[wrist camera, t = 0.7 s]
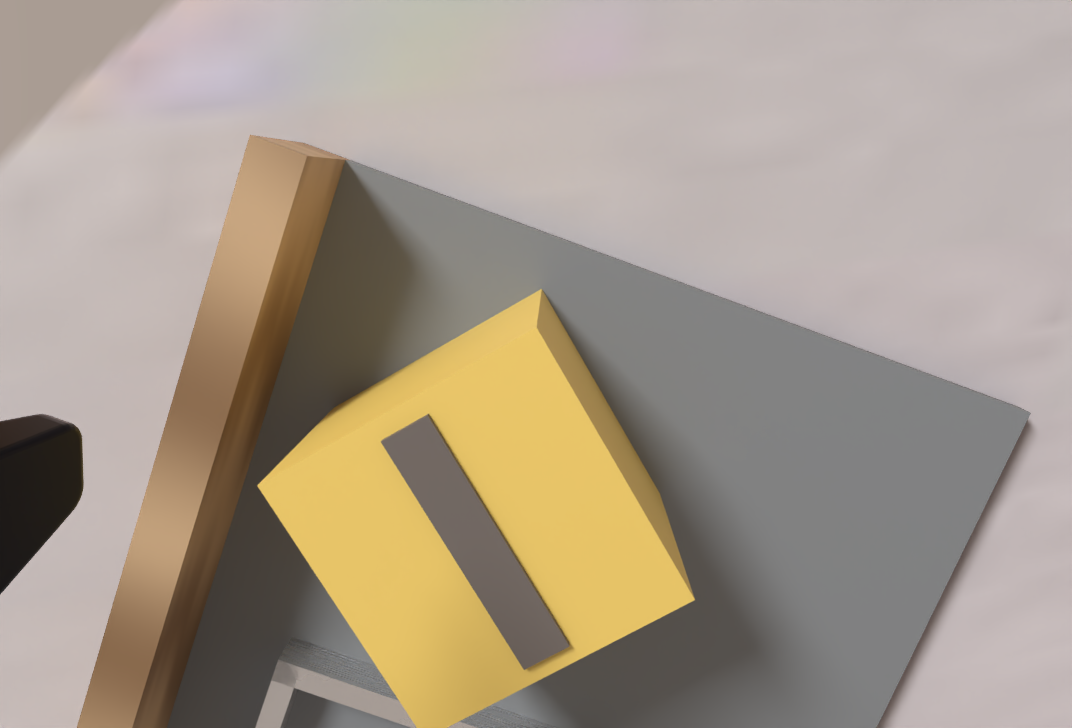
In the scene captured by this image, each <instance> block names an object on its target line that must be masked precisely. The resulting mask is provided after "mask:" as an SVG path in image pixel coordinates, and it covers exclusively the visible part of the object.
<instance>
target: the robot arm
mask: <svg viewBox="0 0 1072 728" xmlns="http://www.w3.org/2000/svg"><path fill="white" fill-rule="evenodd" d="M82 491H83V453H82V435H81V433H80V431H79V429H78V427H76V426H75V425H74V424H72V423H69V422H66V421H63V420H61V419H58V418H55V417H52V416H49V415H45V414H38V415H32V416H26V417H21V418H16V419H10V420H5V421H0V594H1V593H2V592H3V591H4V590H5V588H6V587H7V586H8V585H9V584H10V583H11V581H12V580H13V579H14V578H15V577H16V576H17V575H18V573H19V572H20V571H21V570H22V569H23V568H24V567H25V565H26V564H27V563H28V562H29V561H30V560H31V558H32V557H33V556H34V555H35V554H36V553H37V552H38V550H39V549H40V548H41V547H42V546H43V545H44V543H45V542H46V541H47V540H48V539H49V538H50V537H51V535H52V534H53V533H54V532H55V531H56V530H57V529H58V527H59V526H60V525H61V524H62V523H63V522H64V520H65V519H66V518H67V517H68V516H69V515H70V514H71V512H72V511H73V510H74V509H75V507H76V506H77V504H78V502H79V500H80V498H81V495H82Z"/></svg>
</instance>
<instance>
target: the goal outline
mask: <svg viewBox="0 0 1072 728" xmlns="http://www.w3.org/2000/svg"><path fill="white" fill-rule="evenodd" d="M298 689H299V690H302V691H305V692H308V693H311V694H314V695H317V696H319V697H322V698H325V699H328V700H331V701H334V702H337V703H340V704H343V705H346V706H349V707H352V708H355V709H358V710H361V711H364V712H367V713H370V714H372V715H375V716H378V717H381V718H384V719H387V720H390V721H393V722H396V723H399V724H402V725H405V726H408V727H411V728H417V727H416V726H415V724H414V723H413V721H412V720H411V718H410V717H409V715H408V714H407V712H406V711H405V709H404V707H403V706H402V704H401V703H400V701H399V700H398V698H397V697H396V695H395V694H394V692H393V691H392V689H391V688H390V686H389V685H388V683H387V682H386V680H385V679H384V677H383V676H382V674H381V673H380V671H379V670H378V668H377V667H376V665H374V664H371V663H368V662H365V661H362V660H359V659H356V658H353V657H350V656H347V655H344V654H342V653H339V652H336V651H333V650H330V649H327V648H324V647H321V646H318V645H315V644H312V643H309V642H306V641H304V640H301V639H298V638H295V637H291V639H290V640H289V642H288V644H287V646H286V647H285V649H284V651H283V652H282V654H281V656H280V658H279V659H278V662H277V665H276V668H275V671H274V674H273V677H272V680H271V683H270V686H269V689H268V692H267V695H266V698H265V701H264V704H263V706H262V709H261V712H260V715H259V718H258V721H257V724H256V727H255V728H285V725H286V722H287V719H288V716H289V713H290V710H291V708H292V705H293V702H294V699H295V696H296V693H297V690H298ZM447 728H558V727H555V726H552V725H549V724H546V723H543V722H540V721H537V720H534V719H531V718H528V717H525V716H523V715H520V714H517V713H514V712H511V711H508V710H505V709H502V708H499V707H496V706H493V705H490V706H488V707H486V708H484V709H482V710H480V711H478V712H476V713H475V714H473V715H471V716H469V717H467V718H465V719H463V720H461V721H459V722H457V723H455V724H453V725H451V726H449V727H447Z"/></svg>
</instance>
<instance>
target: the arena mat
mask: <svg viewBox="0 0 1072 728" xmlns="http://www.w3.org/2000/svg"><path fill="white" fill-rule="evenodd" d="M540 289H542V290H543V292H544V294H545V295H546V297H547V299H548V300H549V302H550V304H551V306H552V307H553V309H554V311H555V313H556V314H557V316H558V318H559V320H560V321H561V323H562V325H563V326H564V328H565V330H566V332H567V333H568V335H569V337H570V339H571V340H572V342H573V344H574V346H575V347H576V349H577V351H578V353H579V354H580V356H581V358H582V359H583V361H584V363H585V365H586V366H587V368H588V370H589V372H590V373H591V375H592V377H593V379H594V380H595V382H596V384H597V385H598V387H599V389H600V391H601V392H602V394H603V396H604V398H605V399H606V401H607V403H608V405H609V406H610V408H611V410H612V411H613V413H614V415H615V417H616V418H617V420H618V422H619V424H620V425H621V427H622V429H623V431H624V432H625V434H626V436H627V438H628V439H629V441H630V443H631V444H632V446H633V448H634V450H635V451H636V453H637V455H638V457H639V458H640V460H641V462H642V464H643V465H644V467H645V469H646V470H647V472H648V474H649V476H650V477H651V479H652V481H653V483H654V484H655V486H656V488H657V490H658V491H659V493H660V496H661V499H662V502H663V505H664V508H665V511H666V514H667V517H668V520H669V523H670V526H671V529H672V532H673V535H674V538H675V541H676V544H677V547H678V550H679V553H680V556H681V559H682V562H683V565H684V568H685V571H686V574H687V577H688V580H689V583H690V586H691V589H692V592H693V595H694V598H695V600H694V601H692V602H690V603H688V604H686V605H684V606H682V607H680V608H679V609H677V610H675V611H673V612H671V613H669V614H667V615H665V616H663V617H661V618H659V619H657V620H655V621H653V622H651V623H649V624H647V625H646V626H644V627H642V628H640V629H638V630H636V631H634V632H632V633H630V634H628V635H626V636H624V637H622V638H620V639H618V640H616V641H614V642H612V643H611V644H609V645H607V646H605V647H603V648H601V649H599V650H597V651H595V652H593V653H591V654H589V655H587V656H585V657H583V658H581V659H579V660H578V661H576V662H574V663H572V664H570V665H568V666H566V667H564V668H562V669H560V670H558V671H556V672H554V673H552V674H550V675H548V676H546V677H544V678H543V679H541V680H539V681H537V682H535V683H533V684H531V685H529V686H527V687H525V688H523V689H521V690H519V691H517V692H515V693H513V694H511V695H510V696H508V697H506V698H504V699H502V700H500V701H498V702H496V703H494V704H492V705H493V706H496V707H499V708H502V709H505V710H508V711H511V712H514V713H517V714H520V715H523V716H525V717H528V718H531V719H534V720H537V721H540V722H543V723H546V724H549V725H552V726H555V727H558V728H877V726H878V724H879V722H880V720H881V718H882V716H883V713H884V711H885V709H886V707H887V705H888V703H889V701H890V699H891V697H892V695H893V693H894V691H895V689H896V687H897V685H898V683H899V681H900V679H901V677H902V675H903V673H904V671H905V669H906V667H907V665H908V662H909V660H910V658H911V656H912V654H913V652H914V650H915V648H916V646H917V644H918V642H919V640H920V638H921V636H922V634H923V632H924V630H925V628H926V626H927V624H928V622H929V620H930V618H931V616H932V614H933V611H934V609H935V607H936V605H937V603H938V601H939V599H940V597H941V595H942V593H943V591H944V589H945V587H946V585H947V583H948V581H949V579H950V577H951V575H952V573H953V571H954V569H955V567H956V565H957V563H958V560H959V558H960V556H961V554H962V552H963V550H964V548H965V546H966V544H967V542H968V540H969V538H970V536H971V534H972V532H973V530H974V528H975V526H976V524H977V522H978V520H979V518H980V516H981V514H982V512H983V509H984V507H985V505H986V503H987V501H988V499H989V497H990V495H991V493H992V491H993V489H994V487H995V485H996V483H997V481H998V479H999V477H1000V475H1001V473H1002V471H1003V469H1004V467H1005V465H1006V463H1007V460H1008V458H1009V456H1010V454H1011V452H1012V450H1013V448H1014V446H1015V444H1016V442H1017V440H1018V438H1019V436H1020V434H1021V432H1022V430H1023V428H1024V426H1025V424H1026V422H1027V420H1028V418H1029V416H1030V414H1031V413H1030V412H1028V411H1026V410H1024V409H1022V408H1020V407H1017V406H1015V405H1012V404H1009V403H1006V402H1004V401H1001V400H998V399H996V398H993V397H990V396H987V395H985V394H982V393H979V392H977V391H974V390H971V389H968V388H966V387H963V386H960V385H958V384H955V383H952V382H950V381H947V380H944V379H941V378H939V377H936V376H933V375H931V374H928V373H925V372H922V371H920V370H917V369H914V368H912V367H909V366H906V365H903V364H901V363H898V362H895V361H893V360H890V359H887V358H885V357H882V356H879V355H876V354H874V353H871V352H868V351H866V350H863V349H860V348H857V347H855V346H852V345H849V344H847V343H844V342H841V341H838V340H836V339H833V338H830V337H828V336H825V335H822V334H820V333H817V332H814V331H811V330H809V329H806V328H803V327H801V326H798V325H795V324H792V323H790V322H787V321H784V320H782V319H779V318H776V317H774V316H771V315H768V314H765V313H763V312H760V311H757V310H755V309H752V308H749V307H746V306H744V305H741V304H738V303H736V302H733V301H730V300H727V299H725V298H722V297H719V296H717V295H714V294H711V293H709V292H706V291H703V290H700V289H698V288H695V287H692V286H690V285H687V284H684V283H681V282H679V281H676V280H673V279H671V278H668V277H665V276H662V275H660V274H657V273H654V272H652V271H649V270H646V269H644V268H641V267H638V266H635V265H633V264H630V263H627V262H625V261H622V260H619V259H616V258H614V257H611V256H608V255H606V254H603V253H600V252H597V251H595V250H592V249H589V248H587V247H584V246H581V245H579V244H576V243H573V242H570V241H568V240H565V239H562V238H560V237H557V236H554V235H551V234H549V233H546V232H543V231H541V230H538V229H535V228H533V227H530V226H527V225H524V224H522V223H519V222H516V221H514V220H511V219H508V218H505V217H503V216H500V215H497V214H495V213H492V212H489V211H486V210H484V209H481V208H478V207H476V206H473V205H470V204H468V203H465V202H462V201H459V200H457V199H454V198H451V197H449V196H446V195H443V194H440V193H438V192H435V191H432V190H430V189H427V188H424V187H421V186H419V185H416V184H413V183H411V182H408V181H405V180H403V179H400V178H397V177H394V176H392V175H389V174H386V173H384V172H381V171H378V170H375V169H373V168H370V167H367V166H365V165H362V164H359V163H356V162H354V161H351V160H345V163H344V166H343V169H342V172H341V175H340V178H339V182H338V185H337V188H336V191H335V194H334V197H333V201H332V204H331V207H330V210H329V213H328V217H327V220H326V223H325V226H324V229H323V232H322V236H321V239H320V242H319V245H318V248H317V252H316V255H315V258H314V261H313V264H312V267H311V271H310V274H309V277H308V280H307V283H306V287H305V290H304V293H303V296H302V299H301V302H300V306H299V309H298V312H297V315H296V318H295V322H294V325H293V328H292V331H291V334H290V337H289V341H288V344H287V347H286V350H285V353H284V357H283V360H282V363H281V366H280V369H279V372H278V376H277V379H276V382H275V385H274V388H273V392H272V395H271V398H270V401H269V404H268V407H267V411H266V414H265V417H264V420H263V423H262V427H261V430H260V433H259V436H258V439H257V442H256V446H255V449H254V452H253V455H252V458H251V461H250V465H249V468H248V471H247V474H246V477H245V481H244V484H243V487H242V490H241V493H240V496H239V500H238V503H237V506H236V509H235V512H234V516H233V519H232V522H231V525H230V528H229V531H228V535H227V538H226V541H225V544H224V547H223V551H222V554H221V557H220V560H219V563H218V566H217V570H216V573H215V576H214V579H213V582H212V586H211V589H210V592H209V595H208V598H207V601H206V605H205V608H204V611H203V614H202V617H201V621H200V624H199V627H198V630H197V633H196V636H195V640H194V643H193V646H192V649H191V652H190V656H189V659H188V662H187V665H186V668H185V671H184V675H183V678H182V681H181V684H180V687H179V691H178V694H177V697H176V700H175V703H174V706H173V710H172V713H171V716H170V719H169V722H168V725H167V728H255V727H256V724H257V721H258V718H259V715H260V712H261V709H262V706H263V704H264V701H265V698H266V695H267V692H268V689H269V686H270V683H271V680H272V677H273V674H274V671H275V668H276V665H277V662H278V659H279V658H280V656H281V654H282V652H283V651H284V649H285V647H286V646H287V644H288V642H289V640H290V639H291V637H295V638H298V639H301V640H304V641H306V642H309V643H312V644H315V645H318V646H321V647H324V648H327V649H330V650H333V651H336V652H339V653H342V654H344V655H347V656H350V657H353V658H356V659H359V660H362V661H365V662H368V663H371V664H374V662H373V660H372V659H371V657H370V656H369V654H368V653H367V651H366V650H365V648H364V647H363V645H362V644H361V642H360V641H359V639H358V638H357V636H356V635H355V633H354V632H353V630H352V629H351V627H350V626H349V624H348V623H347V621H346V620H345V618H344V617H343V615H342V613H341V612H340V610H339V609H338V607H337V606H336V604H335V603H334V601H333V600H332V598H331V597H330V595H329V594H328V592H327V591H326V589H325V588H324V586H323V585H322V583H321V582H320V580H319V579H318V577H317V576H316V574H315V573H314V571H313V570H312V568H311V566H310V565H309V563H308V562H307V560H306V559H305V557H304V556H303V554H302V553H301V551H300V550H299V548H298V547H297V545H296V544H295V542H294V541H293V539H292V538H291V536H290V535H289V533H288V532H287V530H286V529H285V527H284V526H283V524H282V523H281V521H280V519H279V518H278V516H277V515H276V513H275V512H274V510H273V509H272V507H271V506H270V504H269V503H268V501H267V500H266V498H265V497H264V495H263V494H262V492H261V491H260V489H259V488H258V486H257V485H258V484H259V483H260V482H261V481H262V480H263V479H264V478H265V477H266V476H267V475H268V474H269V473H270V472H271V471H272V470H273V469H274V468H275V467H276V466H277V465H278V464H279V463H280V462H281V461H282V460H283V459H284V458H285V457H286V456H287V455H288V454H289V453H290V452H291V451H292V450H293V449H294V448H295V447H296V446H297V445H298V444H299V443H300V442H301V441H302V440H303V439H304V438H305V437H306V436H307V434H308V433H309V432H310V431H311V430H312V429H313V428H314V427H315V426H316V425H317V424H318V423H319V422H320V421H321V420H322V419H323V418H324V417H325V416H326V415H327V414H328V413H329V412H330V411H331V410H332V409H333V408H334V407H336V406H338V405H339V404H341V403H343V402H345V401H346V400H348V399H350V398H352V397H353V396H355V395H357V394H359V393H360V392H362V391H364V390H366V389H367V388H369V387H371V386H373V385H374V384H376V383H378V382H380V381H381V380H383V379H385V378H387V377H388V376H390V375H392V374H394V373H395V372H397V371H399V370H401V369H402V368H404V367H406V366H408V365H409V364H411V363H413V362H415V361H416V360H418V359H420V358H422V357H423V356H425V355H427V354H429V353H430V352H432V351H434V350H435V349H437V348H439V347H441V346H442V345H444V344H446V343H448V342H449V341H451V340H453V339H455V338H456V337H458V336H460V335H462V334H463V333H465V332H467V331H469V330H470V329H472V328H474V327H476V326H477V325H479V324H481V323H483V322H484V321H486V320H488V319H490V318H491V317H493V316H495V315H497V314H498V313H500V312H502V311H504V310H505V309H507V308H509V307H511V306H512V305H514V304H516V303H518V302H519V301H521V300H523V299H525V298H526V297H528V296H530V295H532V294H533V293H535V292H537V291H539V290H540ZM374 665H375V664H374ZM285 728H411V727H408V726H405V725H402V724H399V723H396V722H393V721H390V720H387V719H384V718H381V717H378V716H375V715H372V714H370V713H367V712H364V711H361V710H358V709H355V708H352V707H349V706H346V705H343V704H340V703H337V702H334V701H331V700H328V699H325V698H322V697H319V696H317V695H314V694H311V693H308V692H305V691H302V690H299V689H298V690H297V693H296V696H295V699H294V702H293V705H292V708H291V710H290V713H289V716H288V719H287V722H286V725H285Z"/></svg>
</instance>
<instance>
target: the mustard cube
mask: <svg viewBox="0 0 1072 728" xmlns="http://www.w3.org/2000/svg"><path fill="white" fill-rule="evenodd" d="M257 486H258V488H259V489H260V491H261V492H262V494H263V495H264V497H265V498H266V500H267V501H268V503H269V504H270V506H271V507H272V509H273V510H274V512H275V513H276V515H277V516H278V518H279V519H280V521H281V523H282V524H283V526H284V527H285V529H286V530H287V532H288V533H289V535H290V536H291V538H292V539H293V541H294V542H295V544H296V545H297V547H298V548H299V550H300V551H301V553H302V554H303V556H304V557H305V559H306V560H307V562H308V563H309V565H310V566H311V568H312V570H313V571H314V573H315V574H316V576H317V577H318V579H319V580H320V582H321V583H322V585H323V586H324V588H325V589H326V591H327V592H328V594H329V595H330V597H331V598H332V600H333V601H334V603H335V604H336V606H337V607H338V609H339V610H340V612H341V613H342V615H343V617H344V618H345V620H346V621H347V623H348V624H349V626H350V627H351V629H352V630H353V632H354V633H355V635H356V636H357V638H358V639H359V641H360V642H361V644H362V645H363V647H364V648H365V650H366V651H367V653H368V654H369V656H370V657H371V659H372V660H373V662H374V664H375V665H376V667H377V668H378V670H379V671H380V673H381V674H382V676H383V677H384V679H385V680H386V682H387V683H388V685H389V686H390V688H391V689H392V691H393V692H394V694H395V695H396V697H397V698H398V700H399V701H400V703H401V704H402V706H403V707H404V709H405V711H406V712H407V714H408V715H409V717H410V718H411V720H412V721H413V723H414V724H415V726H416V727H417V728H447V727H449V726H451V725H453V724H455V723H457V722H459V721H461V720H463V719H465V718H467V717H469V716H471V715H473V714H475V713H476V712H478V711H480V710H482V709H484V708H486V707H488V706H490V705H492V704H494V703H496V702H498V701H500V700H502V699H504V698H506V697H508V696H510V695H511V694H513V693H515V692H517V691H519V690H521V689H523V688H525V687H527V686H529V685H531V684H533V683H535V682H537V681H539V680H541V679H543V678H544V677H546V676H548V675H550V674H552V673H554V672H556V671H558V670H560V669H562V668H564V667H566V666H568V665H570V664H572V663H574V662H576V661H578V660H579V659H581V658H583V657H585V656H587V655H589V654H591V653H593V652H595V651H597V650H599V649H601V648H603V647H605V646H607V645H609V644H611V643H612V642H614V641H616V640H618V639H620V638H622V637H624V636H626V635H628V634H630V633H632V632H634V631H636V630H638V629H640V628H642V627H644V626H646V625H647V624H649V623H651V622H653V621H655V620H657V619H659V618H661V617H663V616H665V615H667V614H669V613H671V612H673V611H675V610H677V609H679V608H680V607H682V606H684V605H686V604H688V603H690V602H692V601H694V600H695V598H694V595H693V592H692V589H691V586H690V583H689V580H688V577H687V574H686V571H685V568H684V565H683V562H682V559H681V556H680V553H679V550H678V547H677V544H676V541H675V538H674V535H673V532H672V529H671V526H670V523H669V520H668V517H667V514H666V511H665V508H664V505H663V502H662V499H661V496H660V493H659V491H658V490H657V488H656V486H655V484H654V483H653V481H652V479H651V477H650V476H649V474H648V472H647V470H646V469H645V467H644V465H643V464H642V462H641V460H640V458H639V457H638V455H637V453H636V451H635V450H634V448H633V446H632V444H631V443H630V441H629V439H628V438H627V436H626V434H625V432H624V431H623V429H622V427H621V425H620V424H619V422H618V420H617V418H616V417H615V415H614V413H613V411H612V410H611V408H610V406H609V405H608V403H607V401H606V399H605V398H604V396H603V394H602V392H601V391H600V389H599V387H598V385H597V384H596V382H595V380H594V379H593V377H592V375H591V373H590V372H589V370H588V368H587V366H586V365H585V363H584V361H583V359H582V358H581V356H580V354H579V353H578V351H577V349H576V347H575V346H574V344H573V342H572V340H571V339H570V337H569V335H568V333H567V332H566V330H565V328H564V326H563V325H562V323H561V321H560V320H559V318H558V316H557V314H556V313H555V311H554V309H553V307H552V306H551V304H550V302H549V300H548V299H547V297H546V295H545V294H544V292H543V290H542V289H540V290H539V291H537V292H535V293H533V294H532V295H530V296H528V297H526V298H525V299H523V300H521V301H519V302H518V303H516V304H514V305H512V306H511V307H509V308H507V309H505V310H504V311H502V312H500V313H498V314H497V315H495V316H493V317H491V318H490V319H488V320H486V321H484V322H483V323H481V324H479V325H477V326H476V327H474V328H472V329H470V330H469V331H467V332H465V333H463V334H462V335H460V336H458V337H456V338H455V339H453V340H451V341H449V342H448V343H446V344H444V345H442V346H441V347H439V348H437V349H435V350H434V351H432V352H430V353H429V354H427V355H425V356H423V357H422V358H420V359H418V360H416V361H415V362H413V363H411V364H409V365H408V366H406V367H404V368H402V369H401V370H399V371H397V372H395V373H394V374H392V375H390V376H388V377H387V378H385V379H383V380H381V381H380V382H378V383H376V384H374V385H373V386H371V387H369V388H367V389H366V390H364V391H362V392H360V393H359V394H357V395H355V396H353V397H352V398H350V399H348V400H346V401H345V402H343V403H341V404H339V405H338V406H336V407H334V408H333V409H332V410H331V411H330V412H329V413H328V414H327V415H326V416H325V417H324V418H323V419H322V420H321V421H320V422H319V423H318V424H317V425H316V426H315V427H314V428H313V429H312V430H311V431H310V432H309V433H308V434H307V436H306V437H305V438H304V439H303V440H302V441H301V442H300V443H299V444H298V445H297V446H296V447H295V448H294V449H293V450H292V451H291V452H290V453H289V454H288V455H287V456H286V457H285V458H284V459H283V460H282V461H281V462H280V463H279V464H278V465H277V466H276V467H275V468H274V469H273V470H272V471H271V472H270V473H269V474H268V475H267V476H266V477H265V478H264V479H263V480H262V481H261V482H260V483H259V484H258V485H257Z"/></svg>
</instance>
